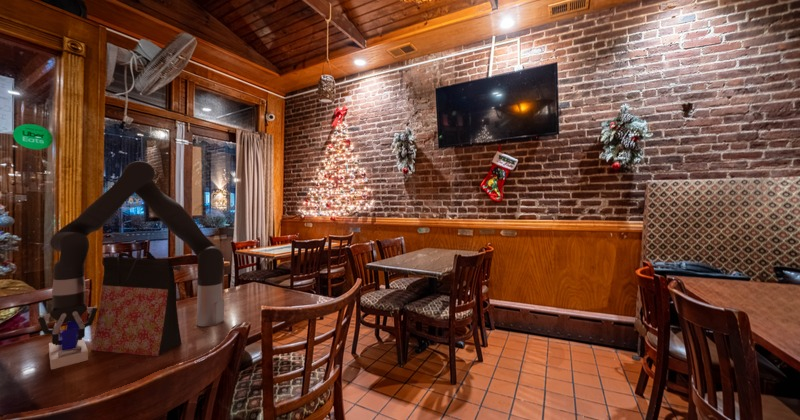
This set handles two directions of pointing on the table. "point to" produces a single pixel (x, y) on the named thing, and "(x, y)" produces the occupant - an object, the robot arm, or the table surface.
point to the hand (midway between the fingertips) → (68, 341)
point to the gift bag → (137, 306)
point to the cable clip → (69, 336)
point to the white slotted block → (67, 354)
